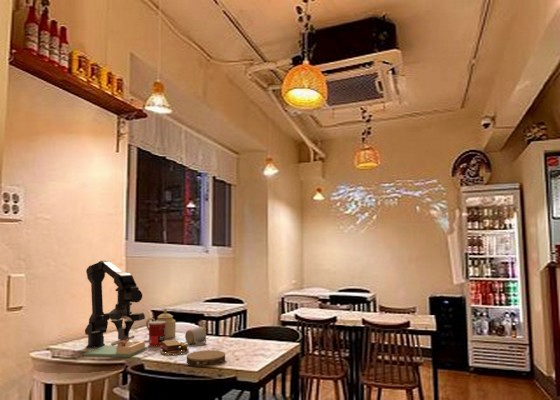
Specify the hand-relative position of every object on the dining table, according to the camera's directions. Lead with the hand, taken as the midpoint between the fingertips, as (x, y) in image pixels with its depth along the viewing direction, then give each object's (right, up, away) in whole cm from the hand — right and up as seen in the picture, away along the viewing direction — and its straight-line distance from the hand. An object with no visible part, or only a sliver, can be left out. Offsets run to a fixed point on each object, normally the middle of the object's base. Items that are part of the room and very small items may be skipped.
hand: (123, 335), depth 207 cm
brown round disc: (+41, -5, -19) cm, 46 cm away
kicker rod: (0, -6, -1) cm, 6 cm away
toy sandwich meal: (+24, -8, -2) cm, 25 cm away
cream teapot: (+9, -11, +33) cm, 36 cm away
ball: (+3, -4, -1) cm, 6 cm away
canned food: (+11, -9, +15) cm, 21 cm away
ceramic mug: (+31, -9, +16) cm, 36 cm away
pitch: (-3, -8, 0) cm, 8 cm away
